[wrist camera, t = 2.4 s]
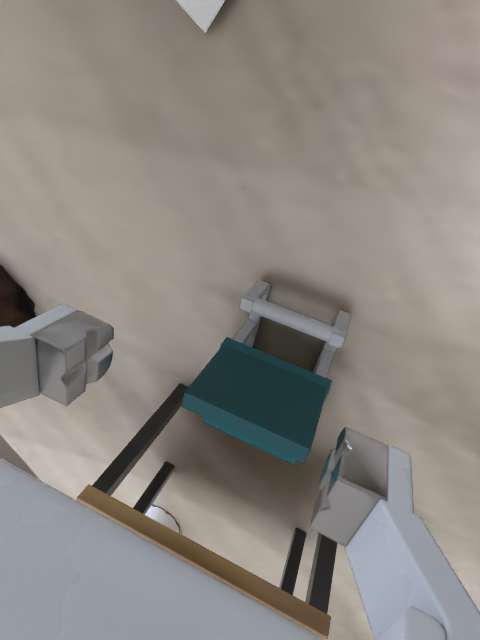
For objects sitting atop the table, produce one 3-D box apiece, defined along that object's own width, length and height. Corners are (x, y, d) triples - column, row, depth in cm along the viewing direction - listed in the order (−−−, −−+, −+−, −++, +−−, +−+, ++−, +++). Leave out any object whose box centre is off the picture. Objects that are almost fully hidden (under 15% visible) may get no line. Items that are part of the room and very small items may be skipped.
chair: (258, 272, 29) (190, 342, 19) (358, 309, 27) (337, 405, 18) (226, 390, 35) (163, 486, 26) (305, 425, 34) (269, 541, 24)
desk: (178, 381, 37) (76, 497, 25) (352, 459, 34) (328, 638, 22) (162, 467, 44) (77, 590, 33) (304, 540, 41) (266, 707, 29)
